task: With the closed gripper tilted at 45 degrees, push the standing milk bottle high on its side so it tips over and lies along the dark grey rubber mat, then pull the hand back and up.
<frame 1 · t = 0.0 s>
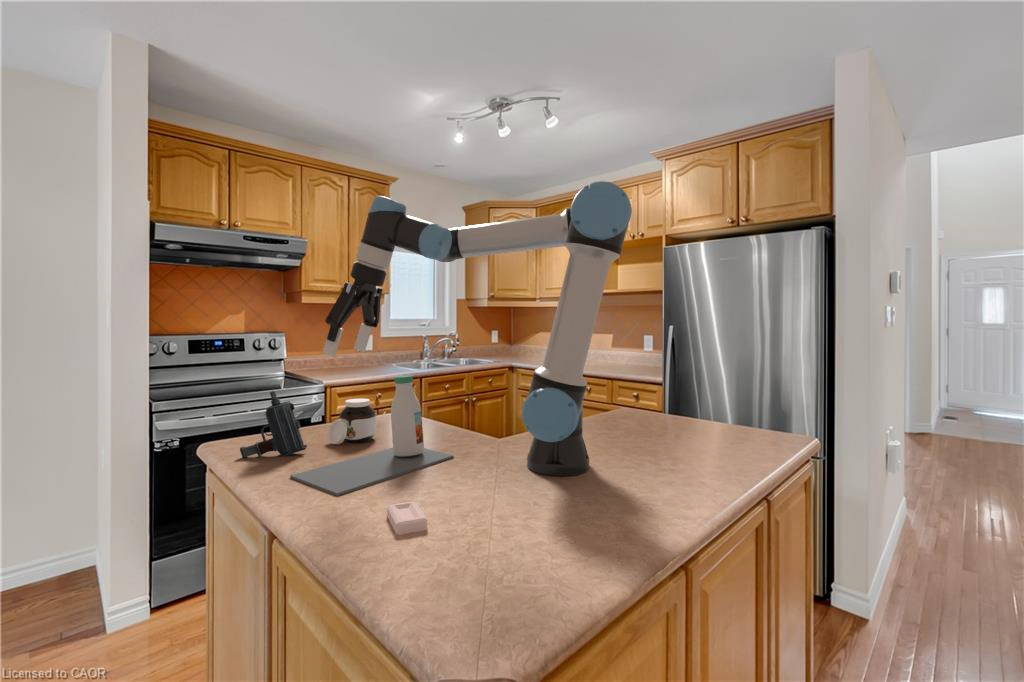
hand: (344, 352, 116), 28 cm above the counter, tool tilted 20°, fingers open, 13 cm apart
rubber mat: (377, 467, 120), on the counter
milk bottle: (409, 454, 128), point 1 cm above the counter, touching rubber mat
gun: (274, 456, 129), on the counter
spread jar: (351, 442, 144), on the counter
soap bar: (406, 525, 89), on the counter
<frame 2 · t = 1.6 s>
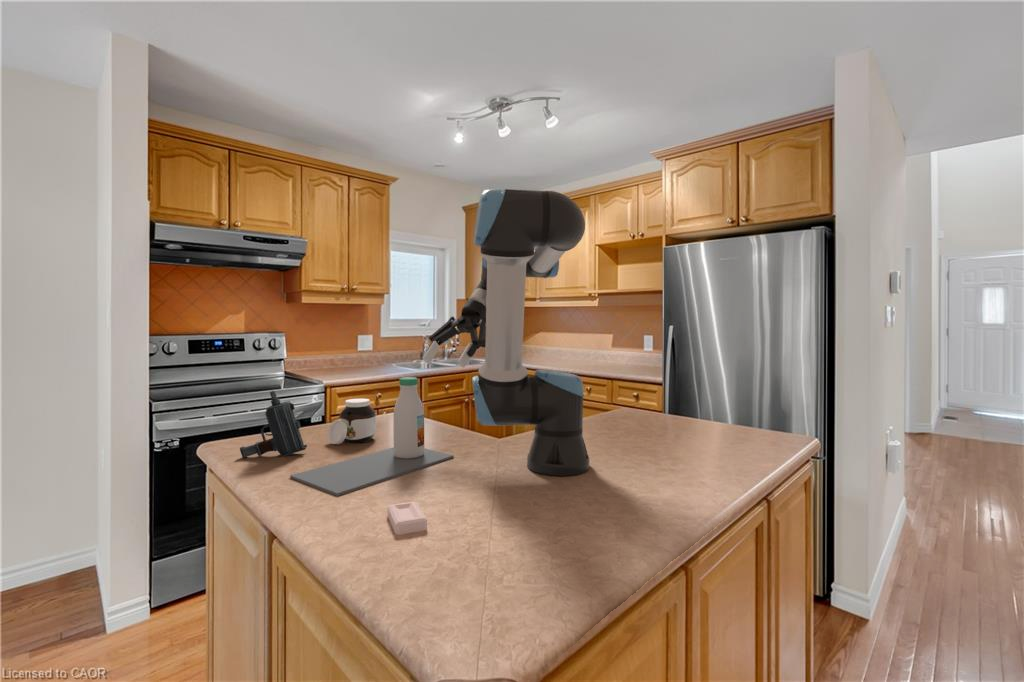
hand: (442, 362, 136), 24 cm above the counter, tool tilted 45°, fingers open, 12 cm apart
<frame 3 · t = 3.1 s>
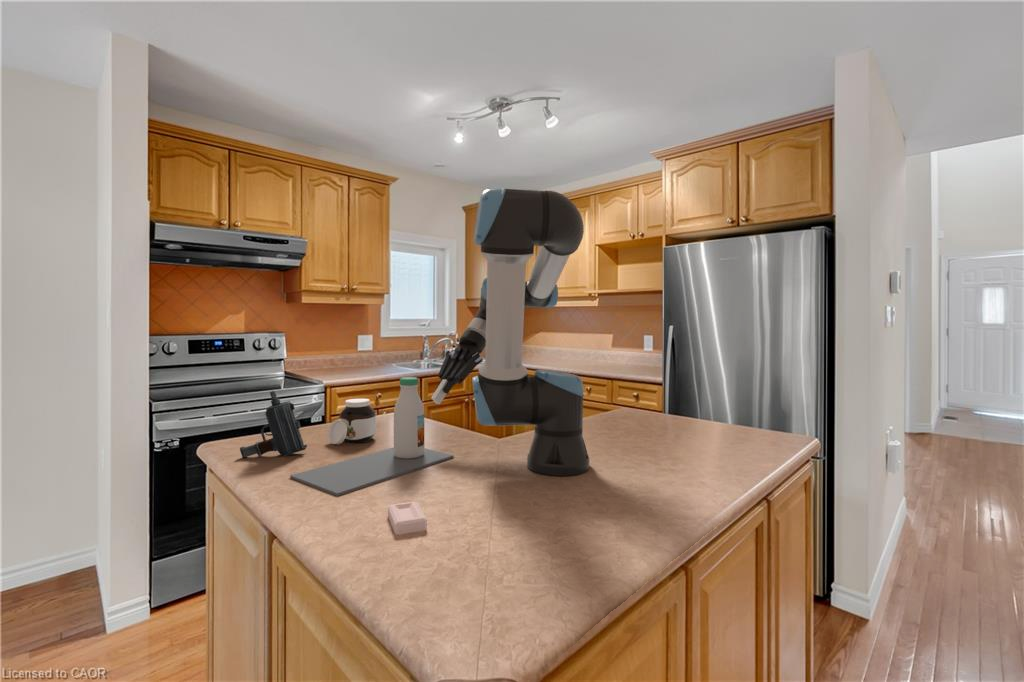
hand: (435, 401, 135), 13 cm above the counter, tool tilted 45°, fingers closed
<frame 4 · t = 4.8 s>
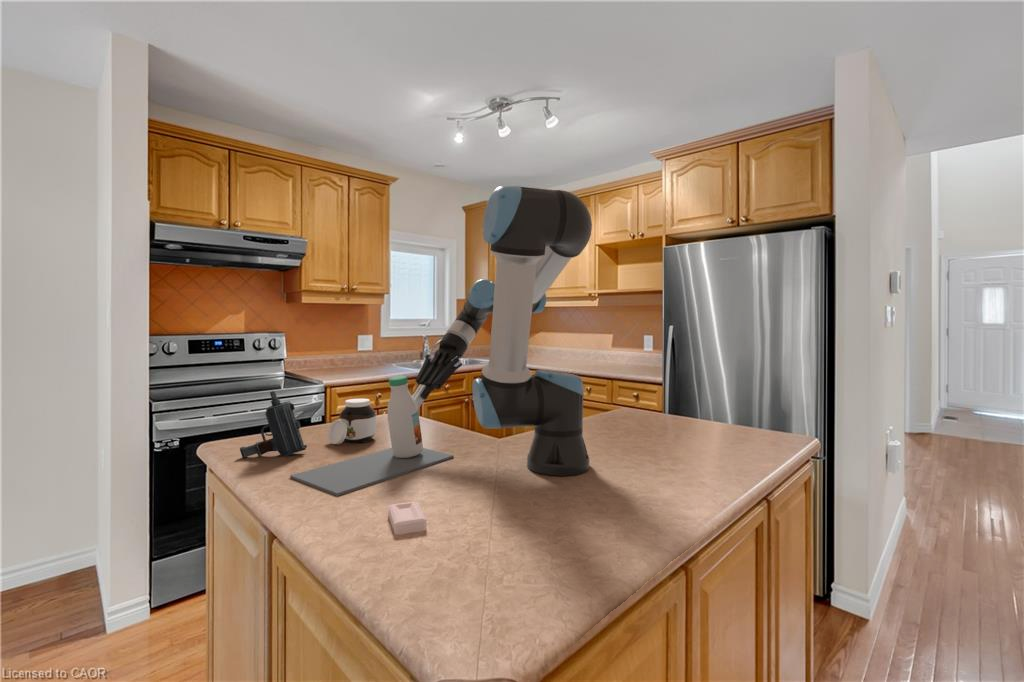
hand: (412, 407, 131), 12 cm above the counter, tool tilted 45°, fingers closed
milk bottle: (408, 453, 128), point 1 cm above the counter, touching gripper, rubber mat
everything else where it was.
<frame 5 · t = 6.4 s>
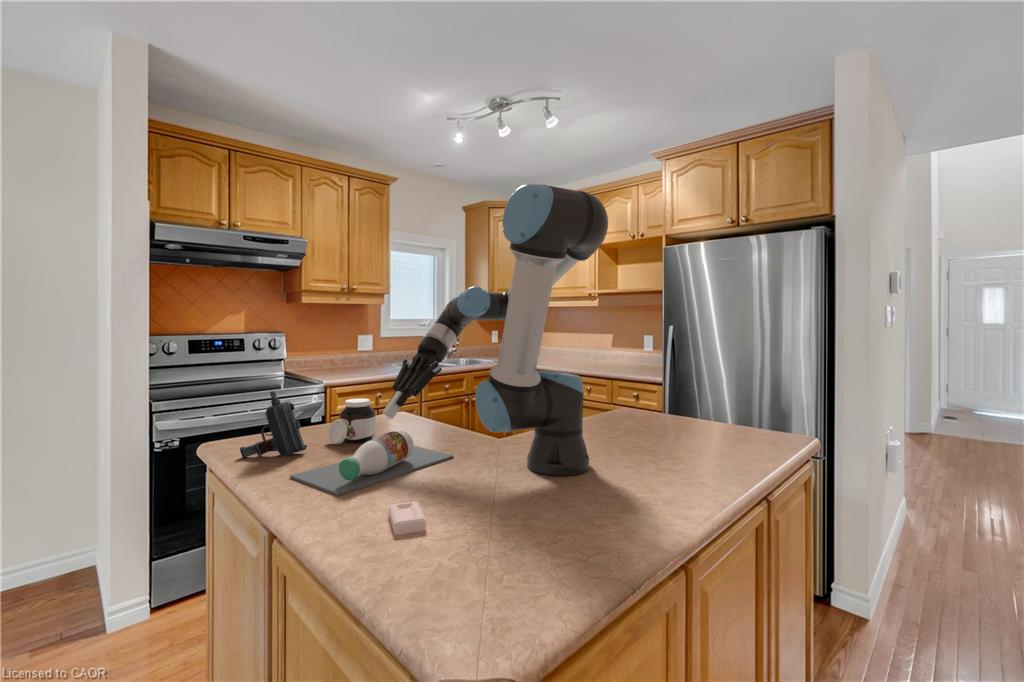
hand: (387, 415, 122), 12 cm above the counter, tool tilted 45°, fingers closed
milk bottle: (402, 443, 124), point 5 cm above the counter, touching rubber mat
everything else where it was.
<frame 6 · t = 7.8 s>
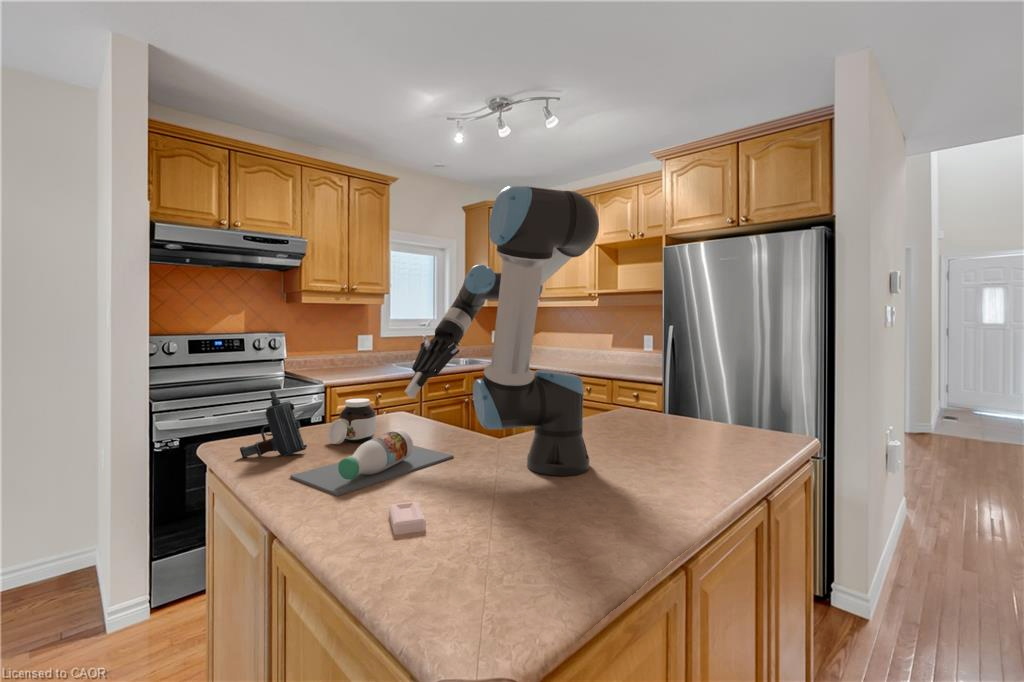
hand: (409, 394, 128), 16 cm above the counter, tool tilted 45°, fingers closed
nothing on the counter moved.
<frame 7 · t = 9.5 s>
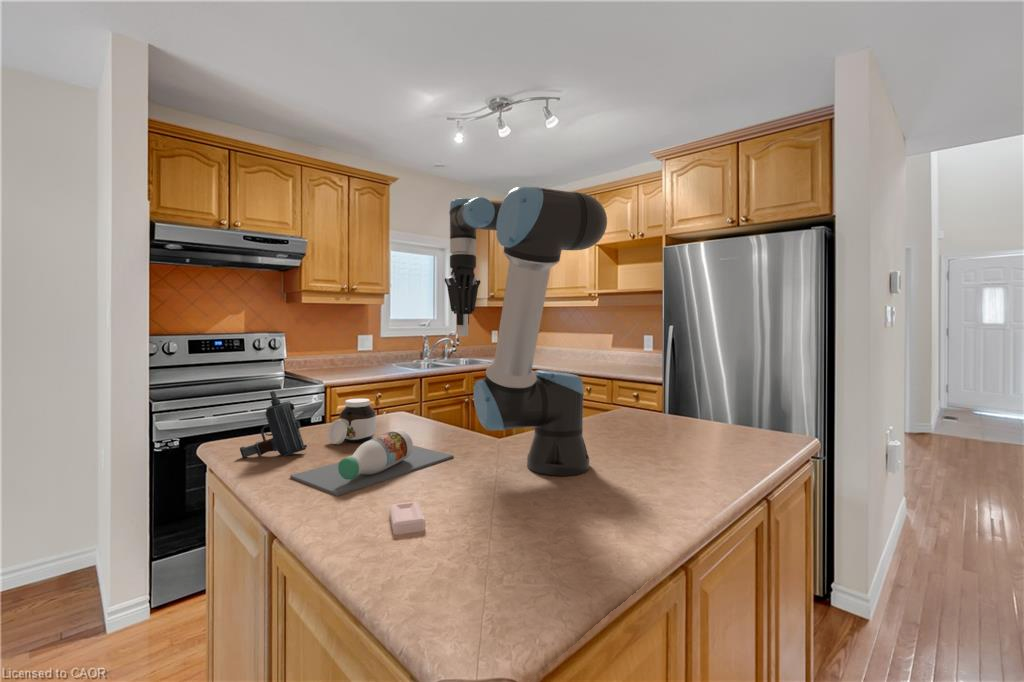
hand: (462, 336, 145), 30 cm above the counter, tool pointing down, fingers closed
nothing on the counter moved.
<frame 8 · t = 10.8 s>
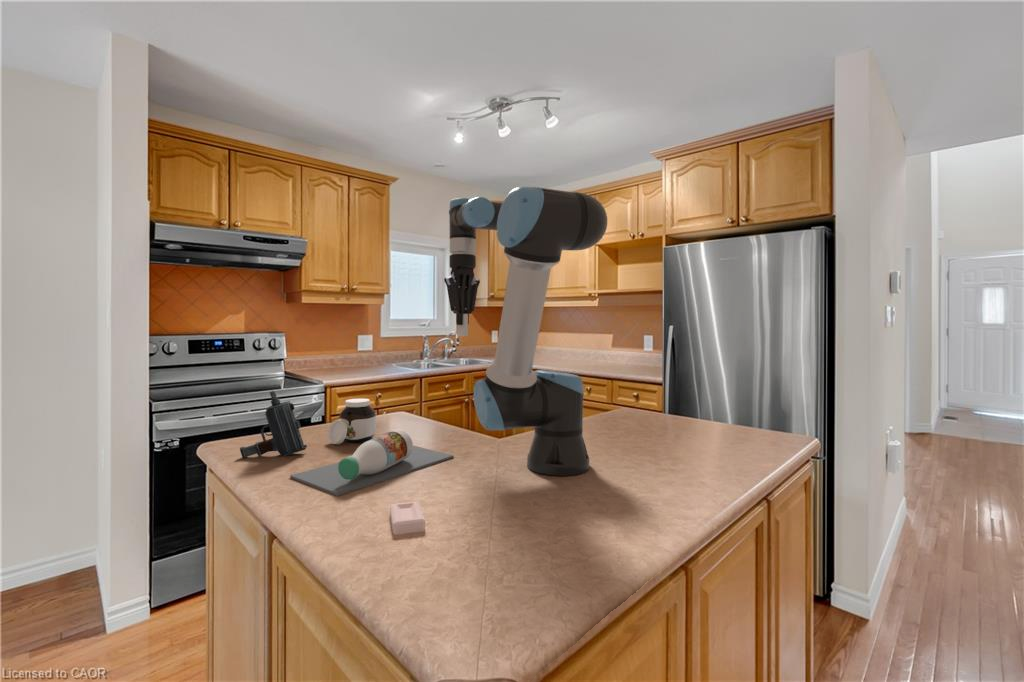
hand: (462, 336, 145), 30 cm above the counter, tool pointing down, fingers closed
nothing on the counter moved.
at the end: milk bottle tilted 92°; milk bottle touching rubber mat; milk bottle 6.5 cm from the rubber mat (horizontally) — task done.
